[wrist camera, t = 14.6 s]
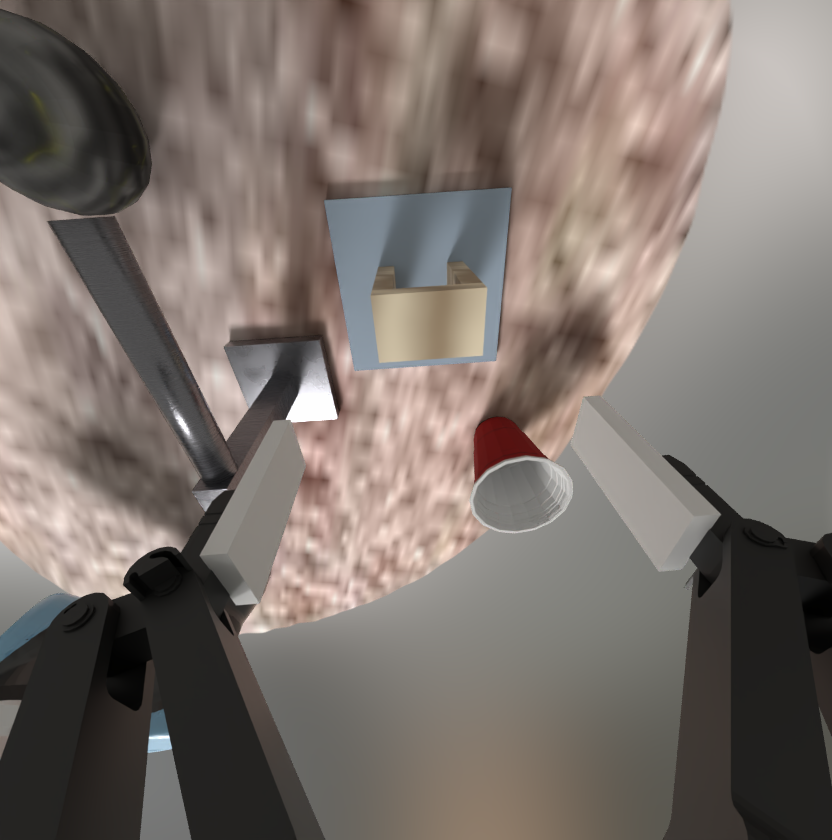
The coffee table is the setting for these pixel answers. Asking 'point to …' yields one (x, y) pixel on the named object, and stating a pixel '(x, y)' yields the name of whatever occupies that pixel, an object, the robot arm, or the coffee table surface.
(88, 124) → the decorative stone
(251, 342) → the stand
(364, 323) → the mat
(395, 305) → the wooden u-bracket
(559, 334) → the coffee table surface
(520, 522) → the plastic cup
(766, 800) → the robot arm
